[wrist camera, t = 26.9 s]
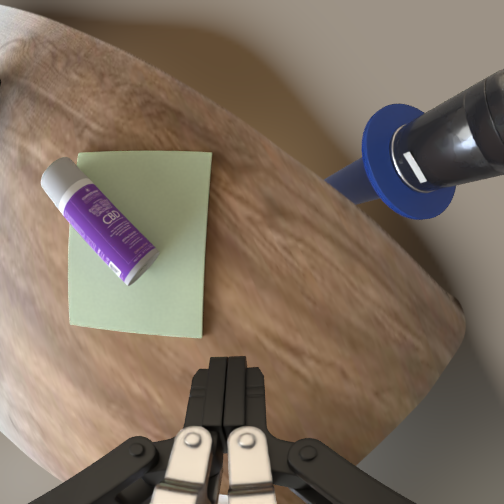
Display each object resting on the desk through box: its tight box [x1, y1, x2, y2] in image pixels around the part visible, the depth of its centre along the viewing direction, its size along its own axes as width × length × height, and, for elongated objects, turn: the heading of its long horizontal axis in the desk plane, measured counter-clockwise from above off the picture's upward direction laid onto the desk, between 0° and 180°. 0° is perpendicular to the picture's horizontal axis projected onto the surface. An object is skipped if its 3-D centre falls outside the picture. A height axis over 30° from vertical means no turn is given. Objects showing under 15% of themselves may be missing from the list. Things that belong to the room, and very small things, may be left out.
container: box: [41, 157, 160, 286], centre depth 27 cm, size 5×5×15 cm
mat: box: [68, 151, 212, 338], centre depth 30 cm, size 16×20×1 cm
